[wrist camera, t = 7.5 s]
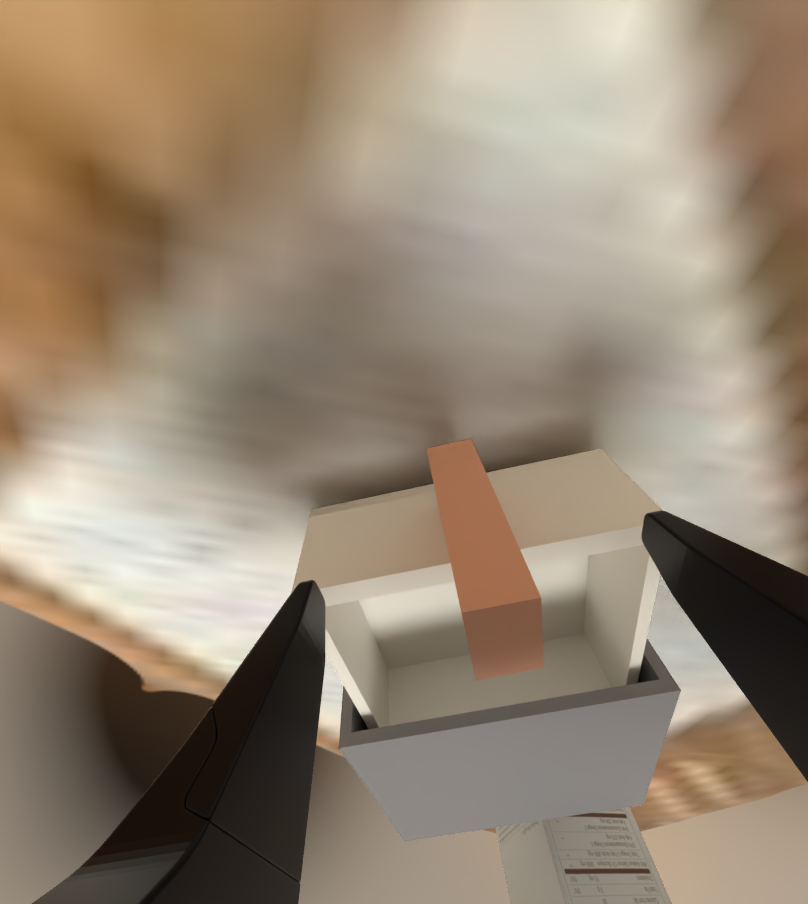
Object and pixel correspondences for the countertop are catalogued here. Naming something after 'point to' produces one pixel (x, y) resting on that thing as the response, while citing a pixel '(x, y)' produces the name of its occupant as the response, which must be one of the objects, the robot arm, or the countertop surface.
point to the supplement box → (580, 861)
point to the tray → (424, 606)
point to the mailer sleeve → (515, 757)
